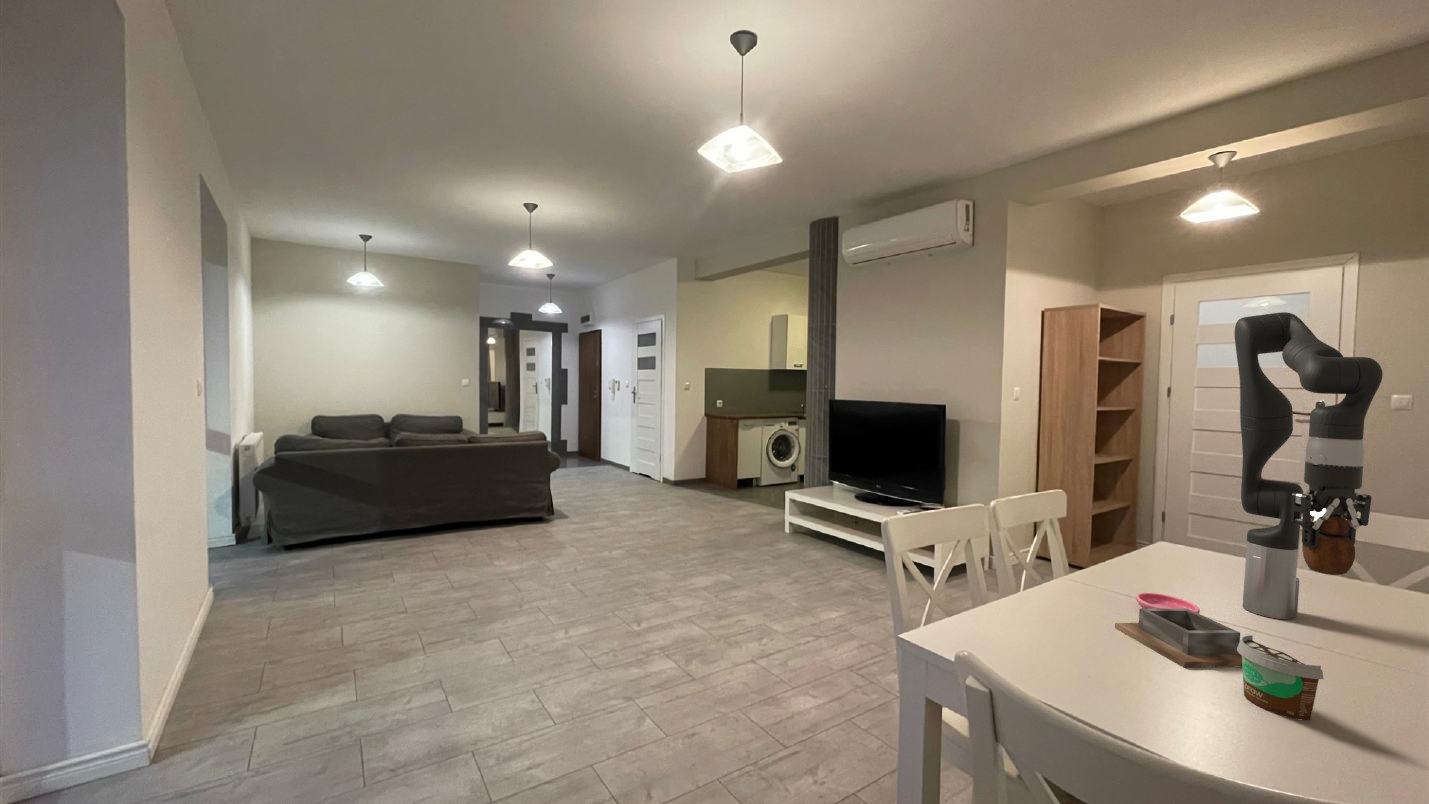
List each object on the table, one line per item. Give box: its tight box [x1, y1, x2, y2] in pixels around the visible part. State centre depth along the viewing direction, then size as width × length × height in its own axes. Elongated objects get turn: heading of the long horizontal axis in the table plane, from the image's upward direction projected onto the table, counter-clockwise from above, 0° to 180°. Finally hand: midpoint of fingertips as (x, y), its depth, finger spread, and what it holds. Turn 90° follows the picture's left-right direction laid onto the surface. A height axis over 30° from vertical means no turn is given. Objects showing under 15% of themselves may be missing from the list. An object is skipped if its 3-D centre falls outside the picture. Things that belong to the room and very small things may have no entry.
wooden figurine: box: [1301, 514, 1356, 576], centre depth 109 cm, size 7×6×15 cm
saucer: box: [1135, 592, 1201, 614], centre depth 141 cm, size 12×12×3 cm
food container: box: [1237, 634, 1325, 721], centre depth 101 cm, size 12×6×10 cm, turn 5°
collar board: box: [1114, 608, 1243, 669], centre depth 123 cm, size 18×18×6 cm
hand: (1327, 547), depth 109 cm, fingers closed on wooden figurine, 7 cm apart
